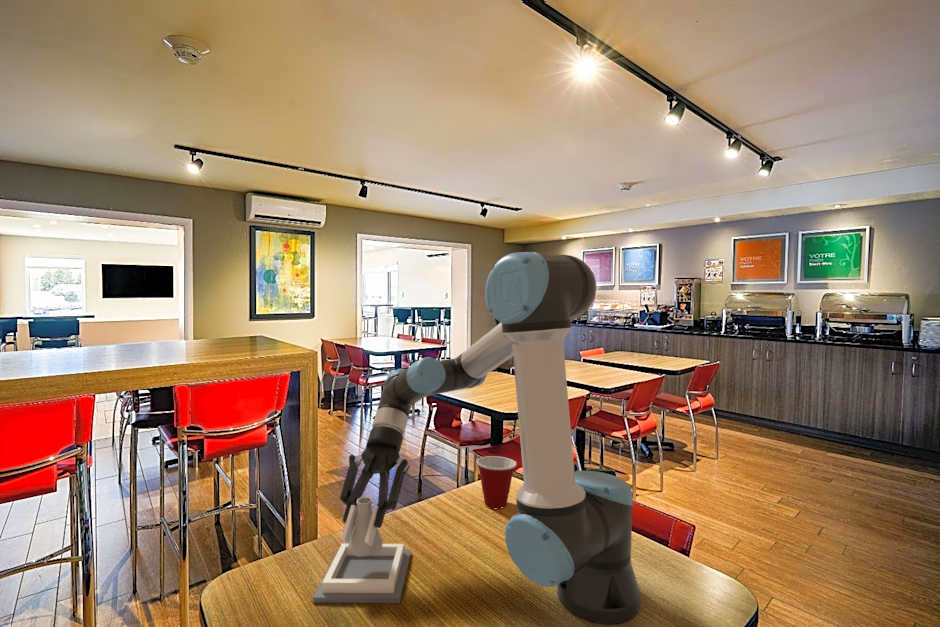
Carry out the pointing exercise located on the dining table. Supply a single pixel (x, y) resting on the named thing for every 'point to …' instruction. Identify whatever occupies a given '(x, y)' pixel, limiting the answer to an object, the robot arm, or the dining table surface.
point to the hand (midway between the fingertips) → (356, 542)
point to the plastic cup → (495, 479)
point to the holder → (365, 576)
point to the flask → (363, 531)
